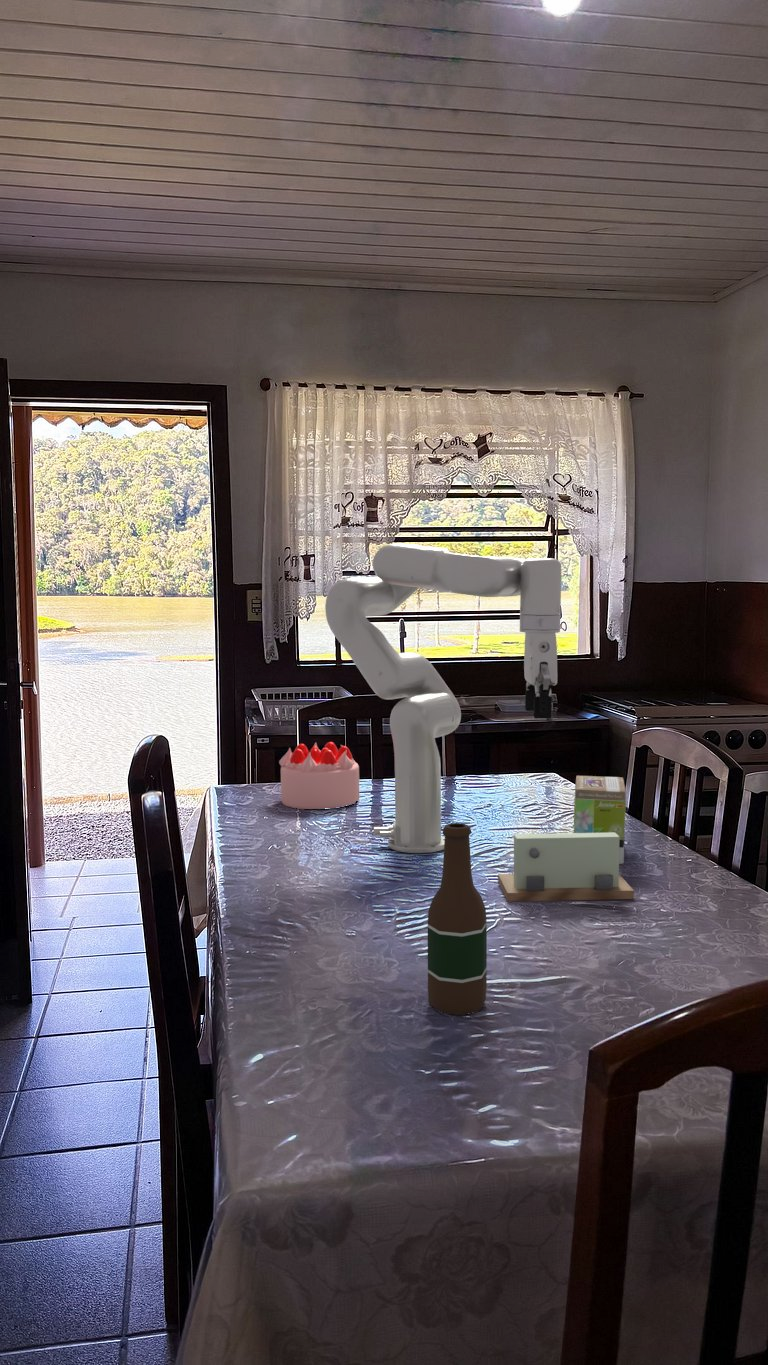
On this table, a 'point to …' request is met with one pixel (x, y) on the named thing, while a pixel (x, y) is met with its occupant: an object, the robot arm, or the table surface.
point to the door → (566, 858)
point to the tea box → (600, 807)
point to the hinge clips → (538, 883)
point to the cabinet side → (562, 892)
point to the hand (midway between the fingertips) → (537, 714)
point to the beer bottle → (457, 932)
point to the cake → (319, 777)
